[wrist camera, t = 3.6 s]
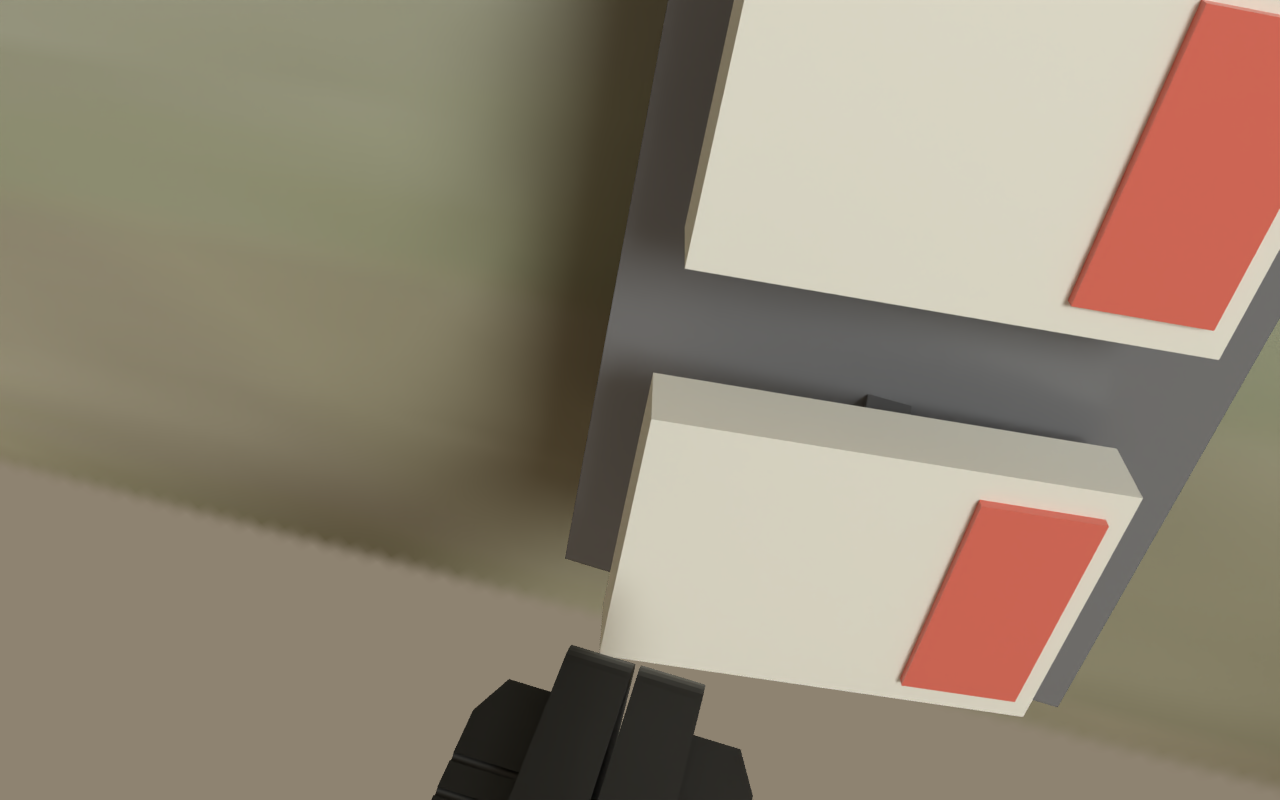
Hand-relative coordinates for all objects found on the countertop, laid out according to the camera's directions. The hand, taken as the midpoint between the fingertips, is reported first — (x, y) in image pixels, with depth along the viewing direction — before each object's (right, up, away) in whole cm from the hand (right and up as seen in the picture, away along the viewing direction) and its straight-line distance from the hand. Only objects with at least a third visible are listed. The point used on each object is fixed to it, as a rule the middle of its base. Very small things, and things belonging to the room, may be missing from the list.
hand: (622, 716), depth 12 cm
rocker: (+3, +1, +3) cm, 4 cm away
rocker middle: (+4, +6, -1) cm, 7 cm away
